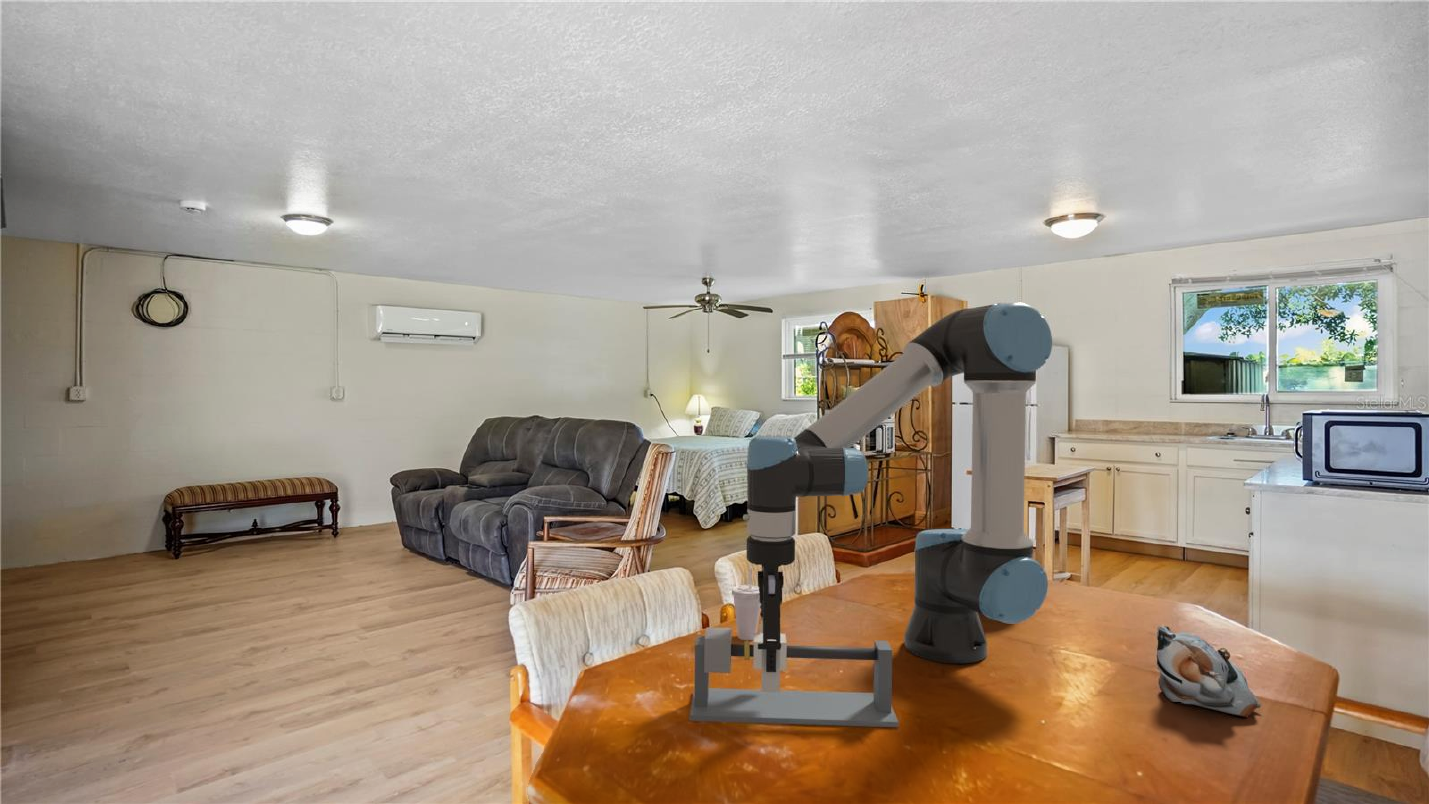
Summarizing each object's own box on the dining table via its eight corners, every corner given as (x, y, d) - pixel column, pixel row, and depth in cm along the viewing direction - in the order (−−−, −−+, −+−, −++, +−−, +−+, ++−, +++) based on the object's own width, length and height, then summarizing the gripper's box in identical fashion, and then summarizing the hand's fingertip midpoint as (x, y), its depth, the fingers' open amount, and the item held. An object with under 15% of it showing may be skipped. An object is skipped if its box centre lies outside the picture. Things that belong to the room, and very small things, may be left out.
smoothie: (760, 644, 142) (761, 572, 142) (728, 641, 143) (729, 570, 143) (765, 633, 148) (765, 564, 148) (734, 630, 150) (734, 562, 149)
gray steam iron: (1279, 721, 111) (1263, 650, 107) (1201, 747, 112) (1182, 679, 108) (1213, 657, 125) (1197, 593, 121) (1144, 681, 126) (1126, 619, 122)
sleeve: (784, 659, 115) (785, 633, 115) (786, 670, 111) (786, 643, 111) (753, 659, 116) (753, 632, 116) (753, 669, 111) (753, 642, 111)
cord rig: (885, 698, 118) (886, 627, 117) (898, 727, 108) (899, 649, 107) (694, 692, 119) (695, 622, 119) (689, 720, 109) (690, 644, 109)
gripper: (747, 521, 125) (745, 646, 126) (746, 553, 101) (744, 708, 102) (790, 522, 125) (789, 647, 125) (800, 554, 101) (798, 709, 101)
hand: (769, 674), depth 113 cm, fingers open, 12 cm apart
